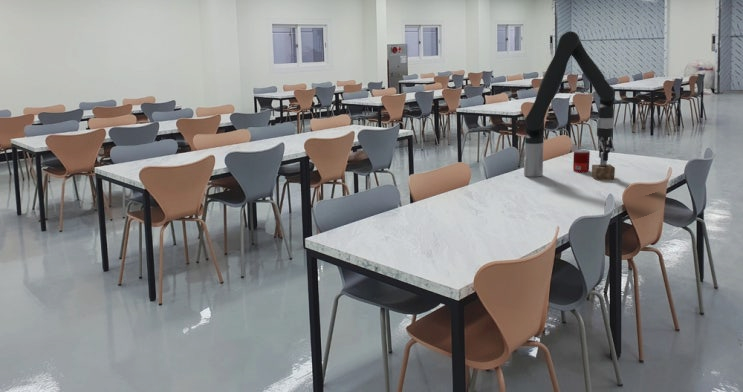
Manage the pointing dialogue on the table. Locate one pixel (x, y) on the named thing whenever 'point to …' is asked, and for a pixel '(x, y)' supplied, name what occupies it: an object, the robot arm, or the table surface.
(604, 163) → the pin
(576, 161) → the canned food
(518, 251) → the table surface
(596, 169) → the socket block
